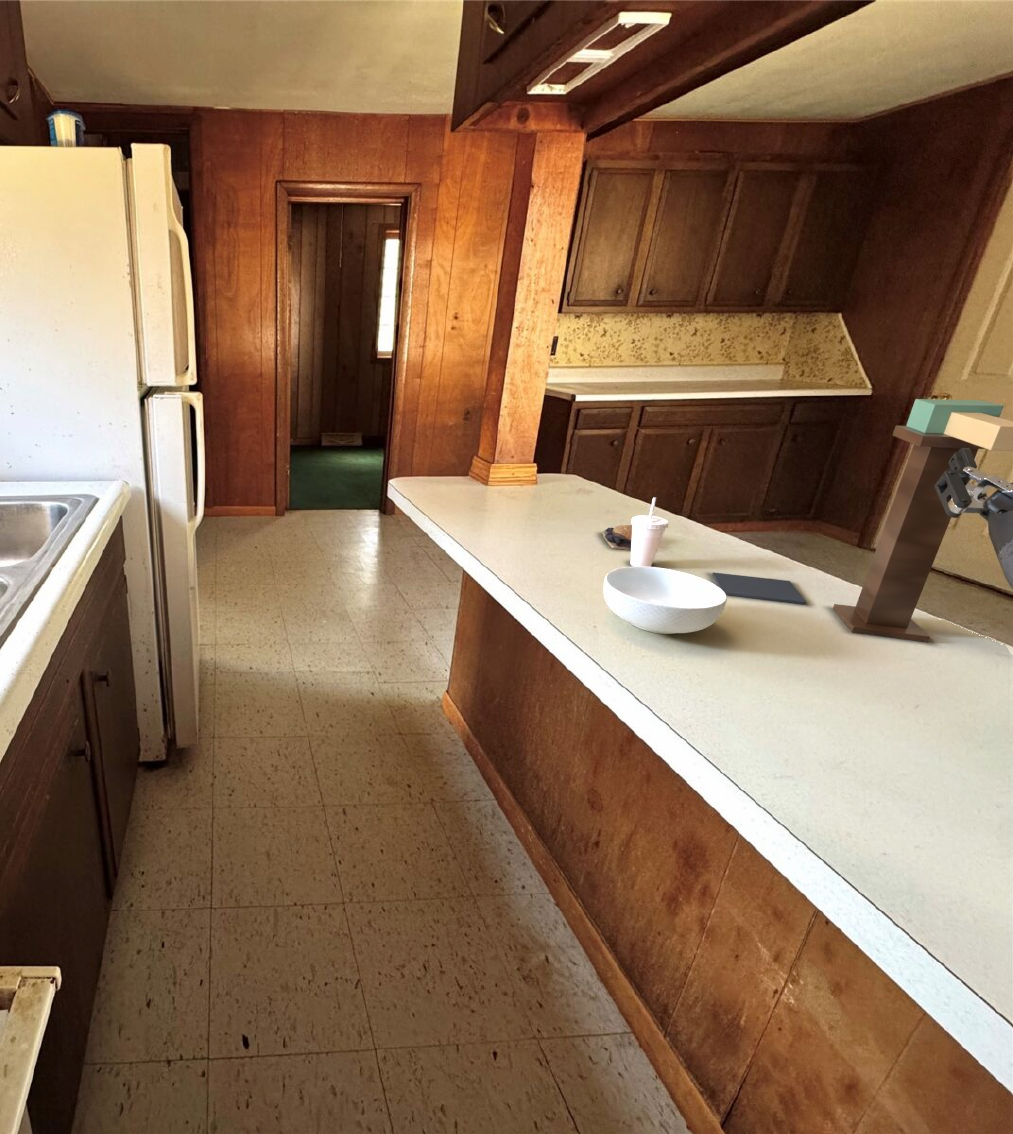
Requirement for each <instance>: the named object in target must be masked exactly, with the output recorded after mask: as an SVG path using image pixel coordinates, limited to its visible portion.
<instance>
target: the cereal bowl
mask: <svg viewBox="0 0 1013 1134" xmlns="http://www.w3.org/2000/svg"><path fill="white" fill-rule="evenodd" d="M602 587H603V588H602V589H603V590H602V592H603V599H604V601H605V603H606V606H608V608H609V609H610V610H611V611H612V613H614V615H616V616H618V617H619V618H620V619H622V620H623V621H626V622H628V623H630V624H631V625H632V626H633V627H636V628H638V629H640V630H642V631H646V632H649V633H653V634H658V635H659V634H660V635H674V634H687V633H688V634H689V633H694V632H698V631H702V630H704V629H706V628H709V627H711V626H712V625H713V624H714V623H715V622H717V621H718V619H719V618H720V616H721V615H722V614H723V612H724V610H725V606H726V605H727V604H726V603H727V600H728V595H726V594H725V592H724V591H723V590H722V589H721V588H719V587H718V585H717V584H716V583H713V582H711V581H709V580H707V579H705V578H703V577H699V576H696V575H694V574H691V573H688V572H684V571H680V570H675V569H672V568H665V567H664V568H663V567H658V566H651V567H648V566H632V565H631V566H623V567H618V568H614V569H612V570H610V571H609V572H607V573H606V574H605V576H604V579H603V586H602Z"/></svg>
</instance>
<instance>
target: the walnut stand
mask: <svg viewBox="0 0 1013 1134" xmlns="http://www.w3.org/2000/svg"><path fill="white" fill-rule="evenodd" d="M892 436H893V437H895V438H898V439H899V440H903V441H904V442H907V443H909V444H912V445H913V446H912V448H911V450H910V454H909V457H908V459H907V462H906V465H905V468H904V471H903V473H902V476H901V479H900V482H899V485H898V488H897V490H896V493H895V495H894V499H893V502H892V505H891V507H890V510H889V512H888V515H887V518H886V519H885V520H886V521H885V524H884V527H883V529H882V532H881V534H880V538H879V540H878V543H877V546H876V549H875V551H874V554H873V557H872V560H871V562H870V565H869V568H868V571H867V574H866V576H865V579H864V582H863V585H862V588H861V590H860V594H859V596H858V598H857V602H856V604H855V606H854V605H846V604H840V603H839V604H838V603H834V604H833V607H832V610H833V611H834V613H835V614H836V615H837V616H838V617H839V619H840V620H841V621H842V622H843V624H845V626H846V627H847V628H848V630H849V631H851V633H855V634H862V635H863V634H864V635H870V636H876V637H877V636H878V637H886V638H893V639H901V640H906V641H907V640H909V641H915V642H924V643H929V641H930V639H931V636H930V634H928V633H927V632H926V631H925V630H924V629H923V628H922V627H921V626H920V625H918V623H916V622H915V620H913V619H912V617H913V614H914V613H915V610H916V607H917V605H918V602H919V600H920V597H921V595H922V592H923V590H924V587H925V585H926V582H927V581H928V577H929V574H930V572H931V571H932V570H931V569H932V567H933V565H934V563H935V560H936V557H937V554H938V552H939V550H940V547H941V544H942V542H943V539H944V537H945V535H946V533H947V530H948V527H949V525H950V523H951V519H952V517H949V516H948V515H947V514H946V512H945V509H944V507H943V505H942V503H941V500H940V498H939V496H938V494H937V491H936V489H935V487H934V485H935V484H936V482H937V481H938V480H939V479H940V477H941V476H942V475H943V473H944V472H945V471H946V470H948V469H950V466H949V460H950V459H951V458H952V457H953V455H954V454H955V453H956V452H958V451H959V450H960V449H961V448H968V449H970V450H971V452H972V455H973V457H974V460H975V459H976V457H977V455H978V452H979V450H987V449H986V448H983V447H980V446H977V445H974V444H972V443H969V442H966V441H963V440H960V439H957V438H955V437H952V436H949V435H946V434H937V433H923V432H921V431H918V430H915V429H912V428H910V427H907V426H906V425H895V427H894V429H893V432H892Z"/></svg>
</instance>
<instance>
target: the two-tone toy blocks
mask: <svg viewBox="0 0 1013 1134" xmlns="http://www.w3.org/2000/svg"><path fill="white" fill-rule="evenodd" d="M1004 406H1005V405H1002V404H998V403H994V402H990V401H986V400H982V399H943V398H942V399H939V398H938V399H936V398H933V399H931V398H916V399H915V400H914V403H913V406H912V408H911V410H910V414H909V416H908V420H907V421H906V425H905V426H907V427H910V428H912V429H915V430H918V431H921V432H923V433H937V434H946V435H949V436H952V437H955V438H957V439H960V440H963V441H966V442H969V443H972V444H974V445H977V446H980V447H983V448H986V449H985V450H989V451H996V452H997V451H999V452H1013V421H1012V420H1009V419H1005V418H1001V414H1002V412H1003V410H1004Z"/></svg>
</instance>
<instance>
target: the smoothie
mask: <svg viewBox="0 0 1013 1134" xmlns="http://www.w3.org/2000/svg"><path fill="white" fill-rule="evenodd" d="M656 502H657V497H653V498H652V500H651V506H650V510H649V514H638V515H634V516H632V518H631V521H630V525H632V541H631V549H630V561H629V562H630V563H629V564H630V565H631V566H648V567H653V566H652V565H653V563H654V560H655V557H656V555H657V552H658V550H659V547H660V544H661V542H662V539H663V537H664V534H665V531H666V529H667V528H669V523H670V522H669V520H668V519H666V518H663V517H660V516H655V515H654V511H655V507H656Z"/></svg>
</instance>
